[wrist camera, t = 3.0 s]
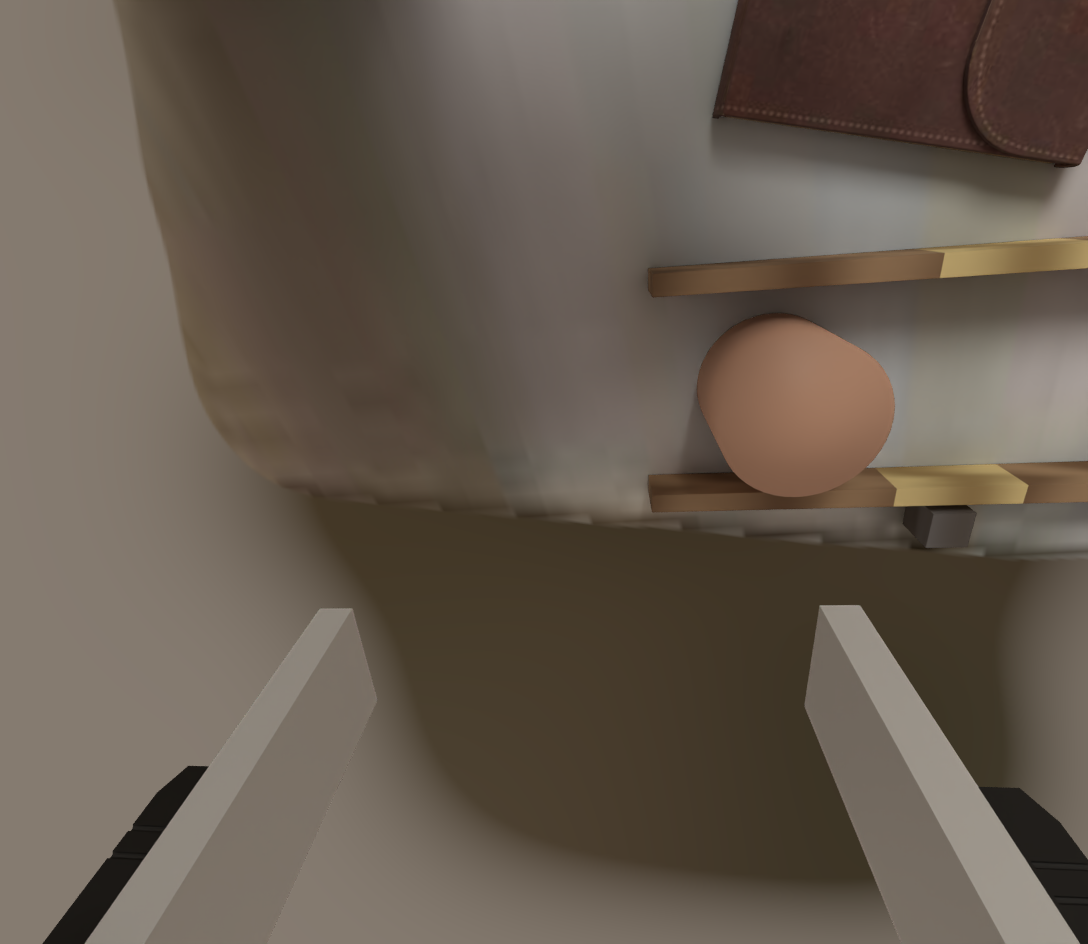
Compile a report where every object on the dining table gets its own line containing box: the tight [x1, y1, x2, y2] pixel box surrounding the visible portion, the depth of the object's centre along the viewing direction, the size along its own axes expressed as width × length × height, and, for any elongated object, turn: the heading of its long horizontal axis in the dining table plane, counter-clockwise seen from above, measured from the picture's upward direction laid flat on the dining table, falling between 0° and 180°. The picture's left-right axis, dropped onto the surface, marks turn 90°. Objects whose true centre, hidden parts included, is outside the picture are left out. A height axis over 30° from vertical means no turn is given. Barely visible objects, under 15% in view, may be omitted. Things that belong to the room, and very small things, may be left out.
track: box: [648, 236, 1088, 548], centre depth 27 cm, size 31×14×2 cm, turn 94°
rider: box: [697, 313, 895, 497], centre depth 26 cm, size 7×7×6 cm
